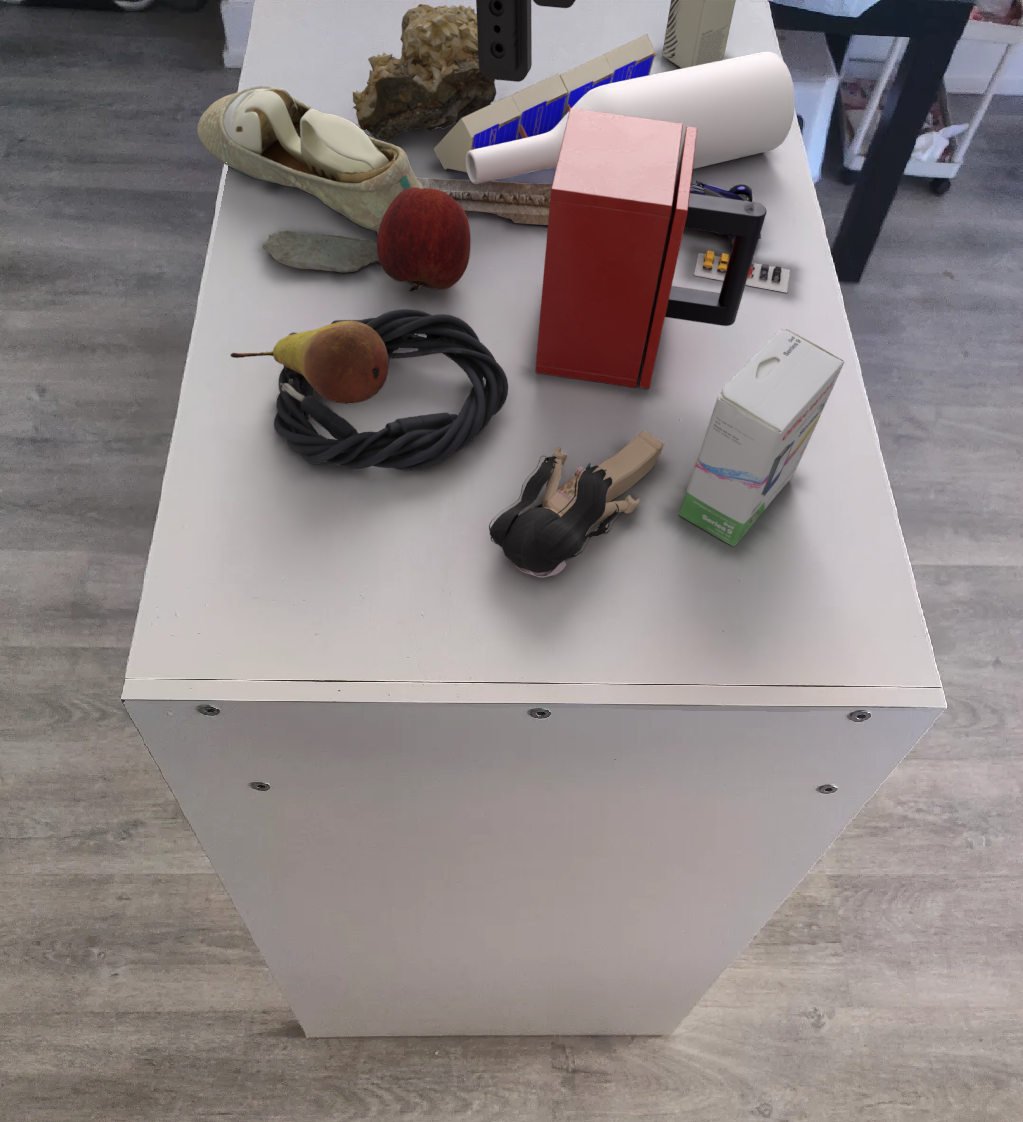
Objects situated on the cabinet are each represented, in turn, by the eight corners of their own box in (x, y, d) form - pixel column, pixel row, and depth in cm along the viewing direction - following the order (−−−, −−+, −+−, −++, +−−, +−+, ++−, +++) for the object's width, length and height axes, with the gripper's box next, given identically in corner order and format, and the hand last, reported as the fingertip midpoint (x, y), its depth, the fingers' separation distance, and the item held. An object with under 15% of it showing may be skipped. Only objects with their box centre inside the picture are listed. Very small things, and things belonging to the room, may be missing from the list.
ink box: (735, 447, 77) (778, 320, 67) (795, 481, 76) (848, 355, 65) (675, 516, 73) (710, 391, 63) (736, 552, 72) (783, 431, 62)
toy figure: (582, 432, 77) (472, 555, 70) (603, 371, 72) (486, 497, 65) (662, 481, 76) (559, 611, 69) (689, 423, 71) (581, 557, 64)
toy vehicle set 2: (787, 292, 86) (789, 284, 86) (693, 274, 87) (695, 267, 86) (790, 269, 88) (792, 262, 87) (698, 252, 89) (700, 244, 88)
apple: (490, 280, 85) (493, 191, 78) (427, 327, 82) (425, 238, 75) (423, 241, 87) (421, 151, 80) (360, 285, 84) (352, 196, 77)
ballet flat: (239, 93, 95) (206, 17, 88) (457, 186, 88) (441, 111, 81) (186, 158, 93) (147, 85, 86) (404, 257, 87) (382, 187, 79)
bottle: (807, 99, 89) (496, 169, 82) (770, 169, 97) (482, 239, 89) (767, 28, 91) (458, 90, 83) (734, 102, 99) (448, 165, 91)
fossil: (599, 187, 92) (602, 185, 88) (595, 228, 93) (598, 228, 89) (399, 173, 92) (394, 170, 88) (399, 214, 93) (393, 213, 89)
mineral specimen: (359, 68, 100) (350, -46, 92) (490, 70, 101) (493, -42, 93) (355, 155, 93) (346, 41, 85) (497, 157, 94) (501, 44, 85)
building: (647, 30, 95) (666, 72, 96) (610, 64, 101) (629, 103, 102) (462, 116, 87) (485, 161, 88) (433, 149, 92) (455, 191, 93)
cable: (507, 352, 81) (510, 306, 77) (506, 486, 74) (509, 443, 70) (289, 343, 80) (281, 297, 76) (267, 478, 73) (257, 434, 69)
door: (723, 317, 84) (773, 137, 71) (717, 398, 79) (769, 221, 66) (650, 306, 84) (686, 125, 71) (639, 387, 80) (675, 208, 66)
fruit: (367, 309, 67) (245, 282, 73) (334, 391, 67) (215, 357, 73) (414, 348, 71) (296, 320, 77) (383, 424, 72) (267, 390, 78)
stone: (400, 234, 87) (394, 264, 83) (399, 252, 88) (393, 282, 85) (268, 218, 86) (257, 249, 83) (270, 236, 87) (259, 267, 84)
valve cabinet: (647, 307, 85) (683, 122, 71) (635, 388, 80) (672, 205, 66) (551, 293, 85) (570, 107, 72) (534, 372, 80) (551, 188, 67)
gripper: (588, -472, 30) (572, 115, 43) (678, -513, 38) (642, -12, 51) (347, -471, 31) (403, 96, 44) (485, -512, 39) (498, -24, 52)
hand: (531, 38), depth 47 cm, fingers open, 8 cm apart
